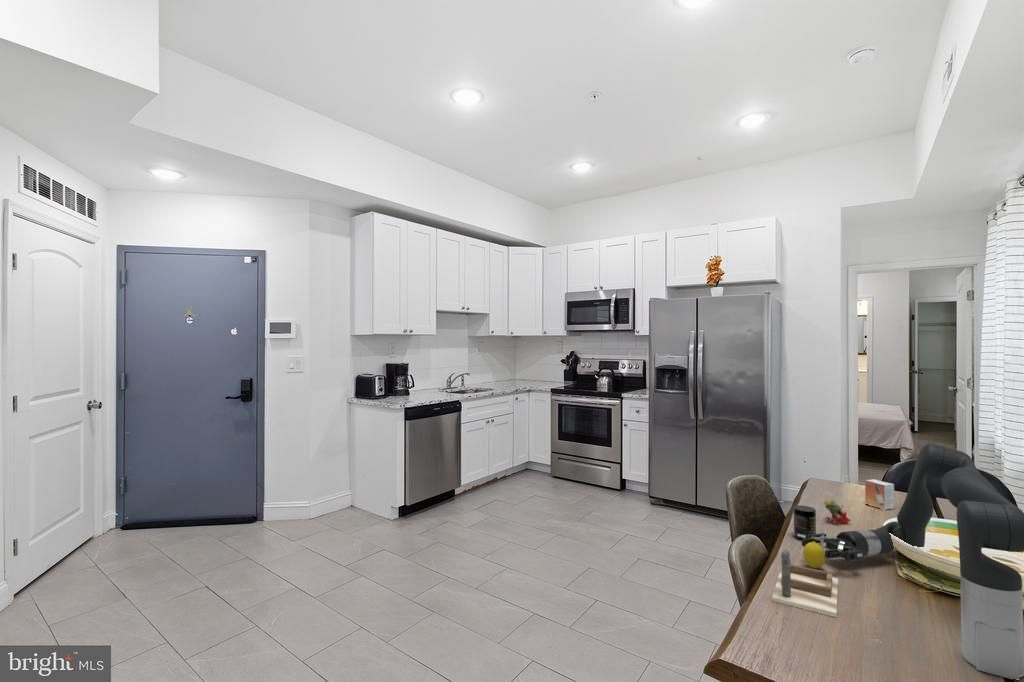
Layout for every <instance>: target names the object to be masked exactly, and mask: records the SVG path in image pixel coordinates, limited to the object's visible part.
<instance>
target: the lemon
mask: <svg viewBox="0 0 1024 682" xmlns="http://www.w3.org/2000/svg"><path fill="white" fill-rule="evenodd" d="M819 544H820V543H816V542H810V543H808V544H806V545H805V547H804V546H803V547H804V548H803V558H804V561H805V563H806V564H808V565H809V566H810V567H811V568H812V569H814V568H816V569H817V568H821V567H822V566H824V564H825V561H826V557H825V549H823V548H822V547H821V546H820V545H819Z"/></svg>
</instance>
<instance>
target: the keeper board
mask: <svg viewBox="0 0 1024 682" xmlns="http://www.w3.org/2000/svg"><path fill="white" fill-rule="evenodd" d="M780 554H781V555H780V558H781V566H780V571H779V573H778V577H777V580H776V582H775V583H776V584H775V586H774V590H773V593H772V597H771V599H772V600H771V602H775V603H779V604H782V605H787V606H791V607H794V608H797V607H798V609H801V608H802V610H805V611H808V612H813V611H814V612H813V613H817V612H818V614H821V615H826V616H830V617H832V616H833V617H834V618H838V615H837V613H838V594H839V593H838V592H839V591H838V590H839V578H838V577H835V576H833V573H832V572H829V571H825V570H819V569H817V568H816V569H814V568H812V567H811V568H810V567H805V566H801V565H798V564H797V565H796V564H791V553H790V552H789V550H787V549H784V550H782V551H781V553H780Z"/></svg>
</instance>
